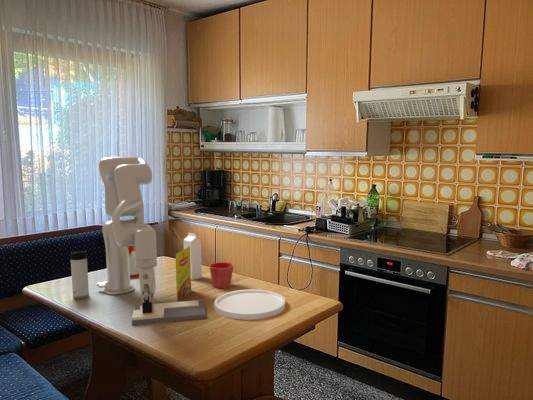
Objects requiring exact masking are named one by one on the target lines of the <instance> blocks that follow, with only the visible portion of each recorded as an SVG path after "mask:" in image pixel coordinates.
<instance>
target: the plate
mask: <svg viewBox="0 0 533 400" xmlns="http://www.w3.org/2000/svg"><path fill="white" fill-rule="evenodd" d="M213 306H214V310H215V312H216V313H217V314H219V315H220V316H222V317H224V318H229V319H233V320H234V319H235V320H244V321H245V320H246V321H247V320H261V319H262V320H263V319H266V318H267V319H268V318H271V317H274V316H276V314H277V315H278V313H279V314H280V313H282V312H283V311H284V310H285V309H286V299H285V297H284V296H283V295H281V294H280V293H277V292H274V291H270V290H265V289H257V288H256V289H255V288H254V289H250V288H249V289H239V290H233V291H229V292H225V293H224V294H221V295H219V296H218V297H217V298H215V300H214V305H213ZM283 309H284V310H283ZM281 311H282V312H281ZM273 315H274V316H273Z"/></svg>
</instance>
